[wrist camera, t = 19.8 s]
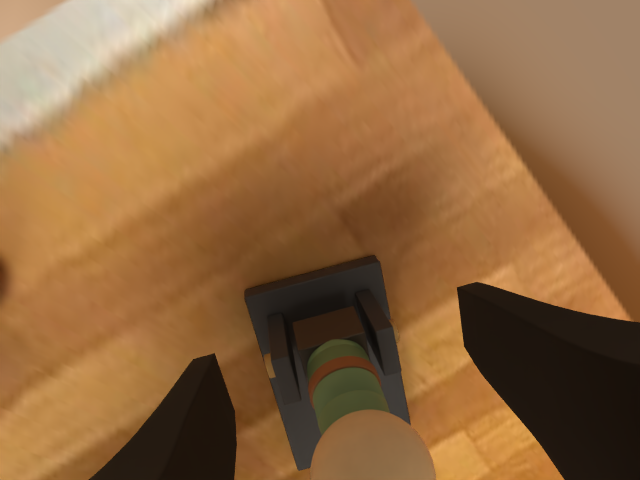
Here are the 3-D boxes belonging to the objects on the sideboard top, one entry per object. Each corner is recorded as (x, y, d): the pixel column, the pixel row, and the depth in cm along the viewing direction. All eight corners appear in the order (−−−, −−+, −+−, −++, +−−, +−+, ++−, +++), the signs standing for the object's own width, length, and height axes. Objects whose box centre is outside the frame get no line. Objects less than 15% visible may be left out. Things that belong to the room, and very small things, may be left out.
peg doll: (375, 354, 23) (461, 554, 15) (295, 377, 23) (336, 594, 14) (363, 288, 21) (455, 477, 13) (275, 312, 21) (310, 521, 12)
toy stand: (407, 425, 28) (440, 494, 23) (296, 458, 27) (306, 535, 22) (374, 254, 24) (406, 295, 19) (243, 289, 23) (243, 340, 18)
